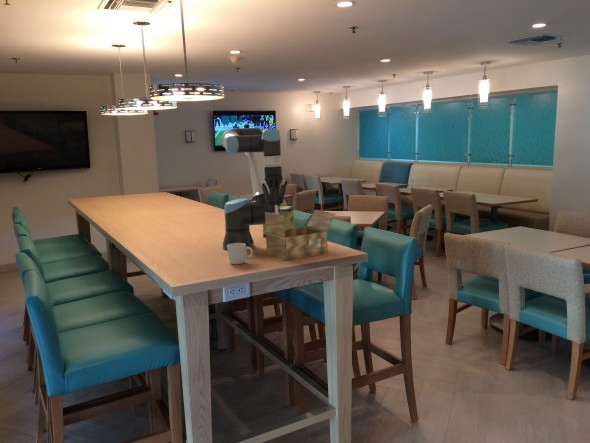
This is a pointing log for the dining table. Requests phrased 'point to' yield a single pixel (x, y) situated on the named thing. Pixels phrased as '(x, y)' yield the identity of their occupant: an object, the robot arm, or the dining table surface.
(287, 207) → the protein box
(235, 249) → the cup
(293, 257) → the carton
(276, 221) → the flap left
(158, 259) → the dining table surface
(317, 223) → the flap right
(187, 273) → the dining table surface
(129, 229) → the dining table surface
